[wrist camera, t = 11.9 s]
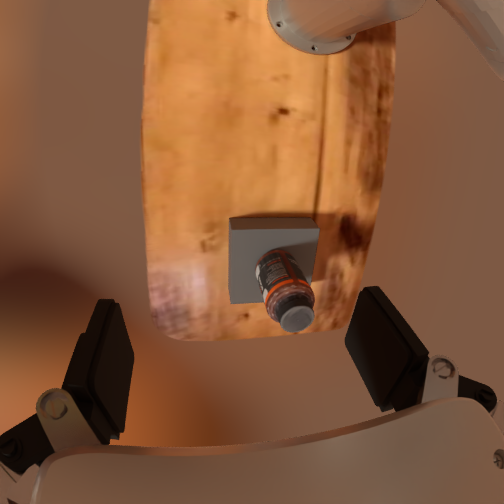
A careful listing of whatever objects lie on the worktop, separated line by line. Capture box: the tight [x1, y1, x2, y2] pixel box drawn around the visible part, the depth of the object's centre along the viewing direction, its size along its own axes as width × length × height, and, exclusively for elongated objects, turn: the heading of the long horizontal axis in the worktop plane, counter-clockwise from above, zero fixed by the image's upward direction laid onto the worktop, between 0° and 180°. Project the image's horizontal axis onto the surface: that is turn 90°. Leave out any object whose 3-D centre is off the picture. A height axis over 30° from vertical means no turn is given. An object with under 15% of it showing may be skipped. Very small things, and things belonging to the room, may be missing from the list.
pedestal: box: [229, 218, 320, 304], centre depth 43 cm, size 12×12×4 cm
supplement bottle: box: [255, 250, 315, 332], centre depth 36 cm, size 6×6×11 cm
